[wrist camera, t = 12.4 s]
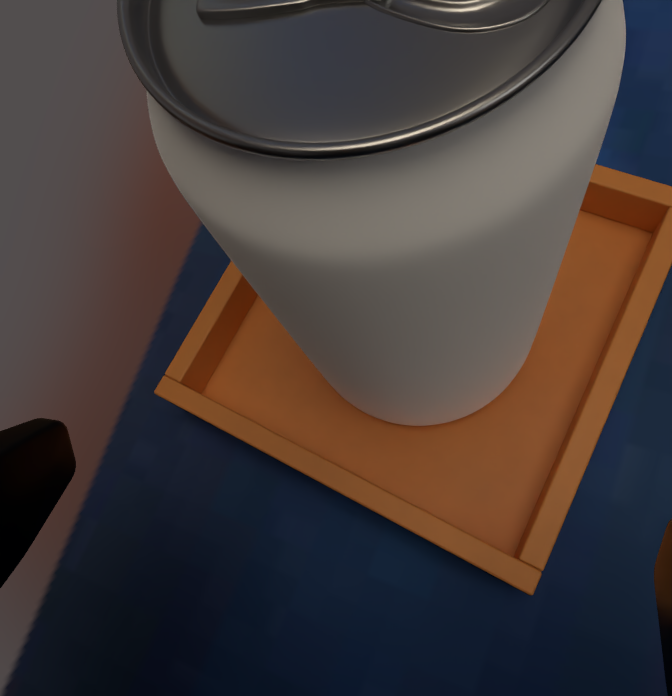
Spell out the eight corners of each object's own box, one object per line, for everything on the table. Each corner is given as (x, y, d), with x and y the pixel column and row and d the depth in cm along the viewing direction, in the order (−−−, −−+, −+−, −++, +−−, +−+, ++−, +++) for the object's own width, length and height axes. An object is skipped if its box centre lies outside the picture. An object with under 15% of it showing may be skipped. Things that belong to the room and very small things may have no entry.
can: (522, 445, 16) (667, 209, 5) (294, 413, 18) (6, 178, 6) (541, 231, 18) (677, -297, 7) (332, 219, 19) (161, -227, 8)
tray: (523, 591, 15) (532, 596, 14) (182, 407, 19) (152, 392, 17) (675, 231, 18) (701, 194, 16) (344, 126, 21) (333, 85, 19)
